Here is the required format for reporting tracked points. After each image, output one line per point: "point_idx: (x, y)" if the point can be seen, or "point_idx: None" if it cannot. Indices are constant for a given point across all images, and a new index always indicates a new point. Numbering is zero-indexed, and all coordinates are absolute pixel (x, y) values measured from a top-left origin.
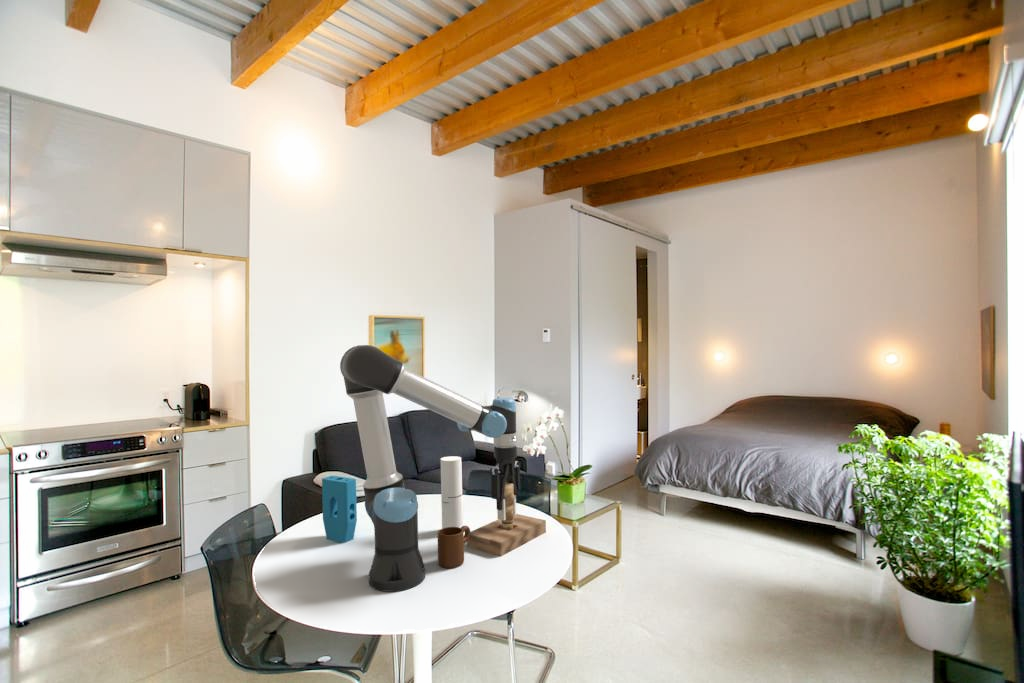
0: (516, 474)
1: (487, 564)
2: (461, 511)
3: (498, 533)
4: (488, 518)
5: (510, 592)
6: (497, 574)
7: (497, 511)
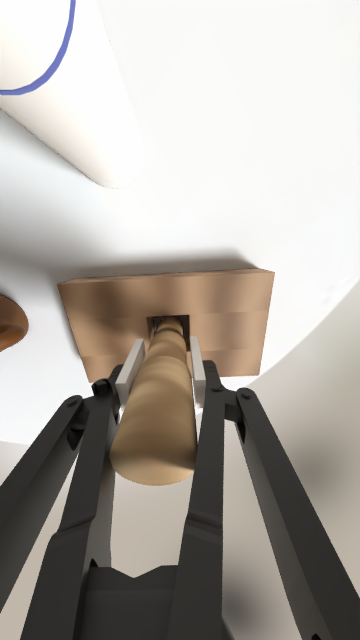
0: (272, 530)
1: (60, 368)
2: (93, 152)
3: (121, 347)
4: (274, 154)
5: (38, 434)
6: (53, 398)
7: (130, 351)
